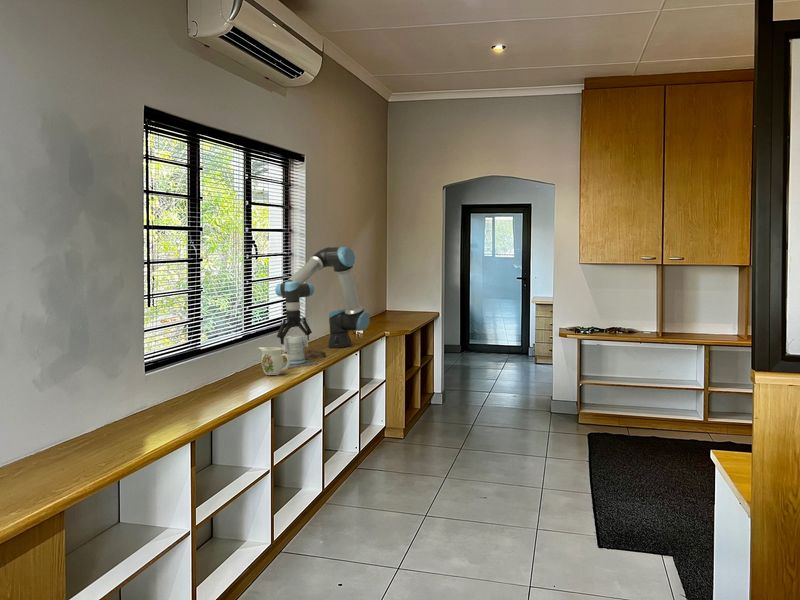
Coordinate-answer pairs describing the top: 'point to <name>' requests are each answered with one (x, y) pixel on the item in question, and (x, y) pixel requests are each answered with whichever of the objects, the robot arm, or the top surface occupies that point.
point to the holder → (313, 354)
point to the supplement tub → (295, 349)
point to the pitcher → (273, 360)
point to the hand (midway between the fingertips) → (295, 348)
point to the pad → (299, 364)
